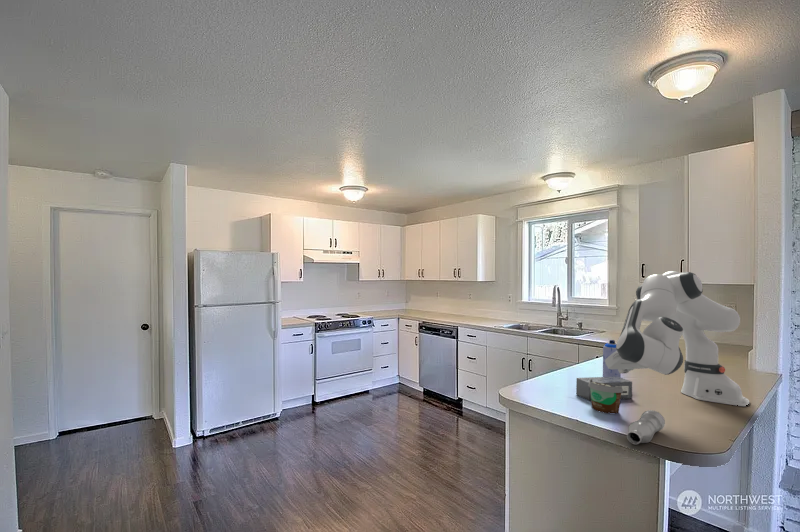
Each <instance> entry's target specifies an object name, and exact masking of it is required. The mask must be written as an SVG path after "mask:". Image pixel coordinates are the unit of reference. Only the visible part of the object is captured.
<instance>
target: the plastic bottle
mask: <svg viewBox="0 0 800 532" xmlns="http://www.w3.org/2000/svg"><path fill="white" fill-rule="evenodd" d="M665 425H666V420H665V417H664V416H663V415H662V414H661V413H660V412H659V411H657V410H653V409H650V410H649V409H648V410H646V411H644V412H643V413H642V414H641V416H640V417H639V419H638V420H635V421H633V422H631V423H630V424H629V425H628V428H627V431H628V433H627V434H626V438H627V440H628V441H629V443H631V444H633V445H639V444H648V443H650V442H651V441H652V439H653V437H654V435H655V433H657V432H659V431H661V430H663V429H664V428H665ZM637 439H639V440H637Z"/></svg>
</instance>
